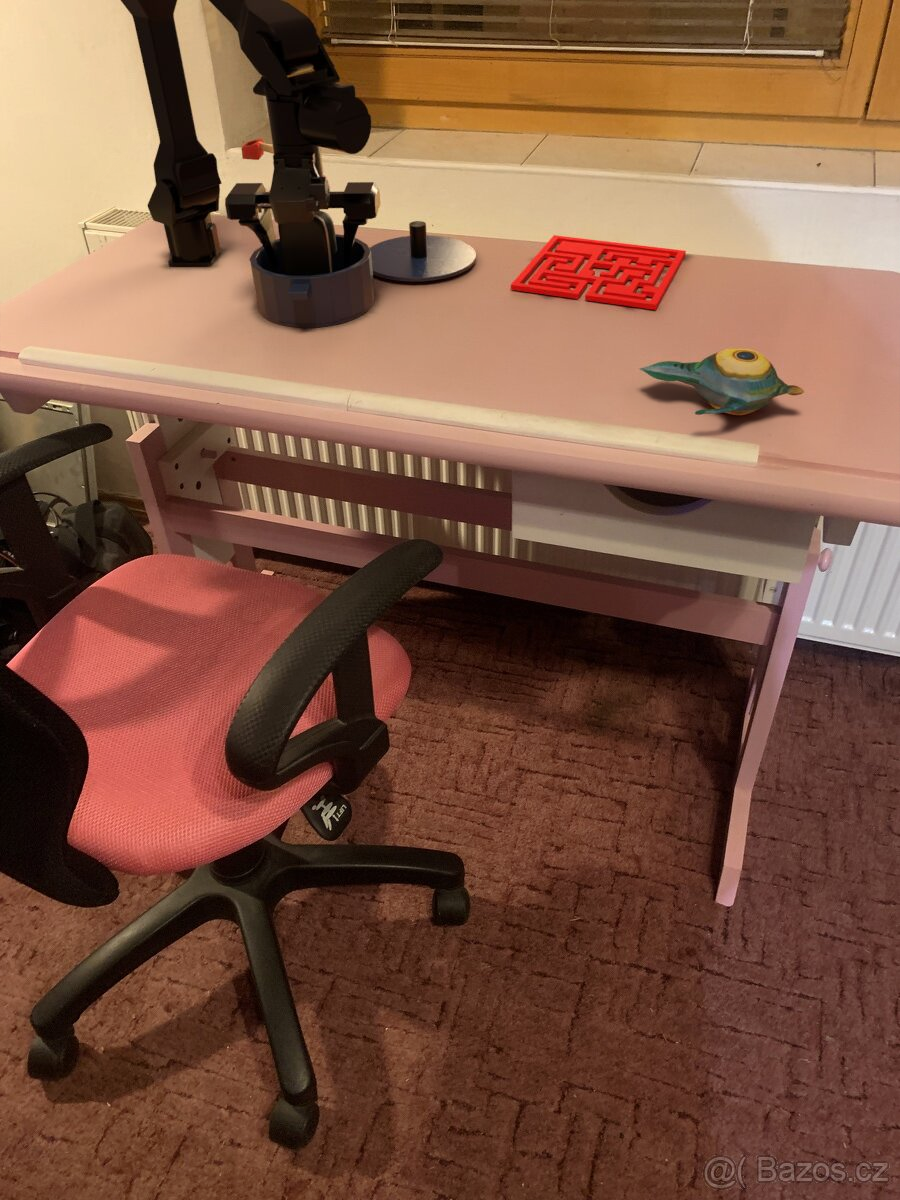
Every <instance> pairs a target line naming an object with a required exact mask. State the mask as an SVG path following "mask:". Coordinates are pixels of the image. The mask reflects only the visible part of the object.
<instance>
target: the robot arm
mask: <svg viewBox="0 0 900 1200" xmlns="http://www.w3.org/2000/svg"><path fill="white" fill-rule="evenodd" d="M208 1H209V3H210V4H211V5H212V6H213V7H214V8H215V9H216V10H217V11H218V12H219V13H220V14H221V15H222V17H224V18H225V19H226V20H227V21H228V22H229V23H230V25H232V27H233V28H234V30H235V31H236V33H237V37H238V42H239V47H240V50H241V51H242V53H243V54H244V55H245V57H246V58H247V59H248V61H249V62H250V64H251V65H252V66H253V68H254V69H255V70H256V72H257V73H258V74H259V75H260V78H259V80H258V81H257V82H256V83H255V85H254V86H253V87H252V92H253V94H254V95H257V96H262V97H265V100H266V108H267V114H268V122H269V129H270V137H271V145H273V152H274V154H272V160H273V161H272V163H273V164H272V165H273V173H272V179H271V185H270V189H269V191H270V192H269V191H266V187H265V186H264V183H263V182H236V183H235V184H234V186H233V187H232V188H231V190H230V191H229V193H228V194H227V195H226V196H225V199H224V207H225V212H226V216H227V219H228V220H231V221H238V224H239V225H240V226H241V227H247V228H248V229H250V230H251V231H252V232H253V233H254V234H255V236H256V238H257V239H258V240H259V242H260V244H261V246H263V247H264V249H265V251H266V253H267V255H268V257H269V259H270V260H271V262H272V264H273V266H274V268H275V270H279V268H280V263H279V253H278V247H277V242H276V240H277V238H276V237H277V236H276V233H275V232H276V231H275V228H274V222H275V223H276V224H278V223H279V224H286V223H298V222H299V223H301V224H308V223H310V222H312V221H313V219H314V212H315V211H321V210H329V209H343V214H345V215H344V218H343V219H342V227H343V235H344V266H345V269H346V268H348V267H349V264H350V259H351V255H352V250H353V245H354V241H355V238H356V235H357V233H358V229H359V226H366V225H367V224H368V221H369V220H374V219H376V218H377V216H378V212H379V209H380V206H381V193H380V187H379V186H378V185H377V184H376V183H375V181H352V182H351V181H348V182H347V183H346V186H345V188H344V190H343V191H329V186H330V184H329V185H328V182H329V181H328V182H327V180H328V178H327V176H325V174H324V166H323V155H322V148H323V149H327V150H332V151H335V152H340V153H344V154H348V155H355V154H359V153H360V152H361V151H363V149H365V147H366V145H367V144H368V142H369V139H370V136H371V132H372V117H371V115H370V113H369V110H368V107H367V105H366V103H364V101H363V100H362V99H360V98H358V97H357V95H356V86H355V85H354V84H350V83H343V84H341V83H340V82H341V77H340V75H339V74H338V71H337V69H336V68H335V63H334V62H333V61H332V59H331V58H330V55H329V54H328V51H327V50H326V47H325V46H324V44H323V42H322V40H321V38H320V37H319V34H318V33H317V32H318V31H317V28H316V26H315V25H314V23H313V21H312V20H311V18H310V17H309V16H307V15H306V14H305V13H303V12H302V11H300V10H299V9H298V8H296V7H295V6H294V5H292V4H291V3H290V2H288V1H285V0H208ZM120 2H121V3H122V4H123V6H124V7H125V8H126V9H127V11H128V12H129V13H130V15H131V16H132V20H133V24H134V28H135V33H136V39H137V43H138V46H139V51H140V56H141V60H142V65H143V70H144V74H145V78H146V83H147V87H148V92H149V97H150V100H151V106H152V110H153V111H152V112H153V115H154V121H155V124H156V125H155V126H156V129H157V133H158V139H159V144H158V147H157V151H156V153H155V154H156V155H155V157H154V161H153V173H154V181H155V186H154V188H153V191H152V193H151V196H150V197H149V201H148V203H147V209H148V211H149V213H150V217H151V218H152V221H153V222H157V223H160V224H163V228H164V232H165V237H166V241H167V245H168V250H169V253H170V259H168V261H167V264H168V266H172V267H173V266H176V267H180V266H183V267H185V266H186V267H190V266H195V267H196V266H197V267H201V266H203V267H204V266H205V267H209V266H212V265H213V264H214V262H215V260H216V259H217V257H218V256H219V254H220V253H221V251H222V248H221V245H220V244H221V243H220V239H219V233H218V229H217V223H215V222H213V221H212V215H211V213H214V212H215V213H216V212H219V211H220V194H221V186H220V185H222V181H221V177H220V174H219V170H218V169H219V168H218V160H217V157H216V155H215V154H214V153H212V152H210V153H209V152H208V151H207V150H206V148H205V147H204V146H203V144H202V143H201V142H200V141H199V139H198V135H197V131H196V125H195V122H194V120H195V119H194V115H193V110H192V105H191V99H190V95H189V89H188V84H187V78H186V73H185V68H184V62H183V58H182V53H181V47H180V42H179V37H178V31H177V26H176V22H175V21H176V20H175V11H176V7H177V3H178V0H120ZM311 70H312V71H311ZM307 71H308V72H307ZM324 176H325V177H324ZM326 178H327V179H326ZM273 220H274V221H273Z"/></svg>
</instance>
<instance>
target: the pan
mask: <svg viewBox="0 0 900 1200" xmlns="http://www.w3.org/2000/svg"><path fill="white" fill-rule="evenodd" d="M335 236H336V244H337V252H336V253H335V254H333V266H334V272H332V273H328V274H320V275H312V276H289V275H286V272H285V267H284V262H283V256H282V251H281V245H280V238H278V239H277V238H276V242H277V247H278V253H279V263H280V268H279V270H275V268H274V266H273V264H272V262H271V260H270V259H269V257H268V255H267V253H266V251H265V249H264V247H263V245H261V246H259V247H258V248H257V249H256V250H254V251H253V252H252V254H251V256H250V257H249V263H250V266H251V267H250V269H251V273H252V274H251V275H252V279H253V285H254V291H255V297H256V303H257V307H258V308H257V309H258V312H259V313H260V315H261V316H262V317H263V318H264V319H266V320H267V321H269V322H272V323H274V324H276V325H279V326H280V325H281V326H284V327H290V328H299V329H310V328H311V329H312V328H314V329H315V328H325V327H332V326H336V325H341V324H345V323H347V322H351V321H353V320H355V319H358V318H360V317H362V316H363V315H365V314H366V313H368V311H370V310H371V309H372V307H373V305H374V303H375V296H376V295H375V283H374V274H373V270H372V257H371V250H370V247H369V245H368V244H367V243H366V242H364V241H362V240H360V239H358V238H356V237H355V241H354V245H353V250H352V255H351V259H350V264H349V267H348V268H346V269H345V266H344V234H339V233H335Z"/></svg>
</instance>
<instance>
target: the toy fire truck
mask: <svg viewBox="0 0 900 1200" xmlns="http://www.w3.org/2000/svg"><path fill="white" fill-rule="evenodd" d="M240 149H241V155H242V157H241V158H242V159H243V160H251V161H254V160H255V161H259V160H260V159H261V158H262V156H263V155H264V154H265V152H266V153H269V154H272V155H274V152H273V145H272V144H270V143H266V142H265V141H264V139H263V138H257V139H253V140H250V141H246V142H245V143H244V144H243V145H242V147H241V148H240ZM324 177H326V175H324ZM326 179H327V182H328V185H329V191H330V190H331V187H330V181H329V180H328V178H327V177H326ZM268 192H270V190H269V191H268ZM330 192H331V191H330Z"/></svg>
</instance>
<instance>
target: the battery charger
mask: <svg viewBox="0 0 900 1200" xmlns="http://www.w3.org/2000/svg"><path fill="white" fill-rule="evenodd" d="M277 230H278V237H279V238H278V239H280V245H281V251H282V256H283V262H284V267H285V272H286V275H289V276H312V275H320V274H328V273H332V272H334V266H333V254H335V253H336V252H337V244H336V236H335V234H336V229H335V224H334V221H333V218H332V217H331V215H330V214H329V213H328V212H325V211H322V210H320V211H315V212H314V219H313V221H312V222H310V223H308V224H301V223H299V222H298V223H286V224H279V223H277Z"/></svg>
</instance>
